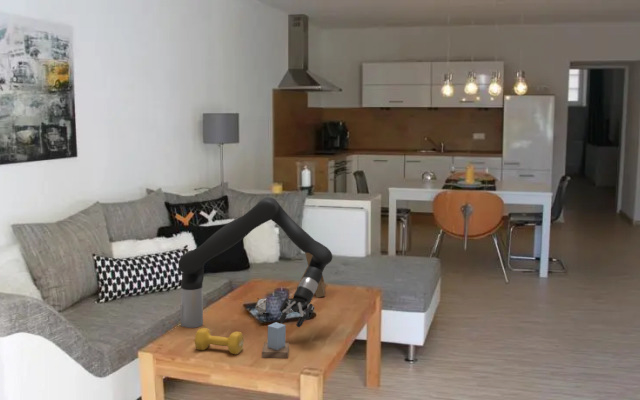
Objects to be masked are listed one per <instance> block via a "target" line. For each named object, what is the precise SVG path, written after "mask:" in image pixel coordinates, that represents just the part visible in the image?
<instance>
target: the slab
mask: <svg viewBox="0 0 640 400" xmlns="http://www.w3.org/2000/svg"><path fill="white" fill-rule="evenodd" d="M289 351H290V342H285V347H283V348H281V349H279V350H275V349H271V348H268V342H264V343H263V346H262V350H261V358H262V359H288V357H289Z"/></svg>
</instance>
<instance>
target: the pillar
mask: <svg viewBox="0 0 640 400" xmlns="http://www.w3.org/2000/svg"><path fill="white" fill-rule="evenodd" d="M286 328H287V325H286V324H284V323H281V322H280V323H279V322H277V321H276V322H273V323H271V324H268V325H267V343H268V348H271V349H275V350H279V349H281V348H283V347H285V343H286V331H287V330H286Z"/></svg>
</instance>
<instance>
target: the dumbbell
mask: <svg viewBox="0 0 640 400" xmlns="http://www.w3.org/2000/svg"><path fill="white" fill-rule="evenodd" d="M244 342H245V341H244V336H243V333H242V332H241V331H233V332H232V333H231V334H230V335H229V337H225V336H219V335H212V334H211V331H210V329H209V328H207V327H202V328H201V327H200V328H199V329H198V330H197V331H196V333H195V337H194V345H195V348H196V349H197V350H198V351H205V350H207V349H208V347H209V346H210V345H213V346H220V347H227V348H228V352H229V353H230V354H232V355H239V354H240V353H241V351H242V349H243V347H244Z"/></svg>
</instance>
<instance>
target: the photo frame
mask: <svg viewBox="0 0 640 400" xmlns="http://www.w3.org/2000/svg"><path fill="white" fill-rule="evenodd" d="M304 253H305V252H304ZM305 257H306V263H307V265H308V266H307V267H306V269H305V270H304V273H303V275H302V276H301V279H299V282H298V284H297V286H296V289H297V288H298V286H299V284H300V282H301V280H302V279H303V277H304V275H305V273H306V271H307V269H308V267H309V264H310V261H311V259H312V257H313V255H312V254H310V253H305ZM325 284H326V283H325V280H324V275H323V274H322V278H321V280H320V282H319V284H318V287H317V290H316V292H315V294H314V295H315V298H316V299H317V298H323V297H325V295H326V294H325V293H326V292H325V291H326V289H325V287H326V285H325Z"/></svg>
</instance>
